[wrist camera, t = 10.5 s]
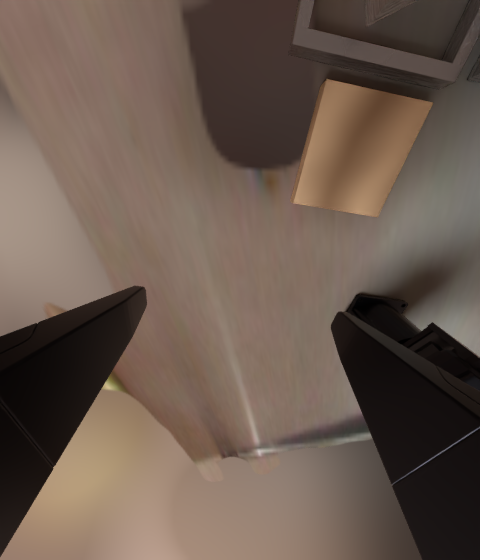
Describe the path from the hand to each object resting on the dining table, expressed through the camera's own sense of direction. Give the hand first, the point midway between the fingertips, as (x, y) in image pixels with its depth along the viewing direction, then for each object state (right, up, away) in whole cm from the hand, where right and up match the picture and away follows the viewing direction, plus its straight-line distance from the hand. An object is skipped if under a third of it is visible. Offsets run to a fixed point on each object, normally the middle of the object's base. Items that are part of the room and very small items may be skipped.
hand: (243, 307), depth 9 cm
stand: (+9, +12, +7) cm, 16 cm away
